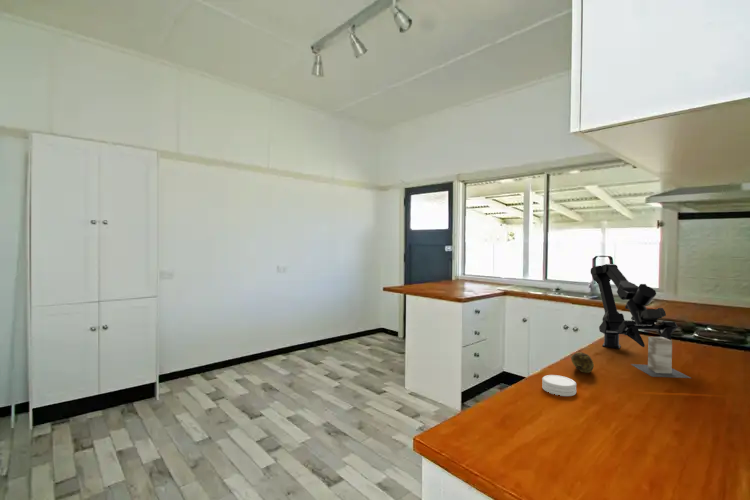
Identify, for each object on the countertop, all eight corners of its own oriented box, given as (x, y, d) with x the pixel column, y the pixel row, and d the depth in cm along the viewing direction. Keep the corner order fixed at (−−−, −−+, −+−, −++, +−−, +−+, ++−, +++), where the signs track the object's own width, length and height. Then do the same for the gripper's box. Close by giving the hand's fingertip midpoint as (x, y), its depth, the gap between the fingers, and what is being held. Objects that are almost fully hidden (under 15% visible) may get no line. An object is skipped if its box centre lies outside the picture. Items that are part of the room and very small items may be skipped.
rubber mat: (630, 365, 141) (630, 364, 141) (666, 366, 139) (666, 365, 139) (651, 378, 128) (651, 376, 128) (691, 379, 126) (691, 378, 126)
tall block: (647, 368, 136) (648, 336, 136) (662, 368, 136) (662, 337, 135) (656, 372, 131) (657, 340, 131) (671, 373, 131) (672, 340, 130)
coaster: (580, 390, 118) (580, 380, 118) (570, 400, 111) (570, 388, 111) (548, 382, 125) (548, 372, 125) (537, 390, 118) (537, 379, 118)
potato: (600, 370, 135) (600, 349, 135) (589, 380, 126) (589, 357, 126) (576, 365, 141) (576, 345, 141) (564, 373, 132) (564, 352, 132)
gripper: (622, 299, 141) (639, 335, 130) (674, 300, 139) (696, 336, 128) (611, 316, 149) (627, 350, 138) (660, 317, 147) (680, 352, 136)
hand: (657, 347), depth 135 cm, fingers open, 9 cm apart
